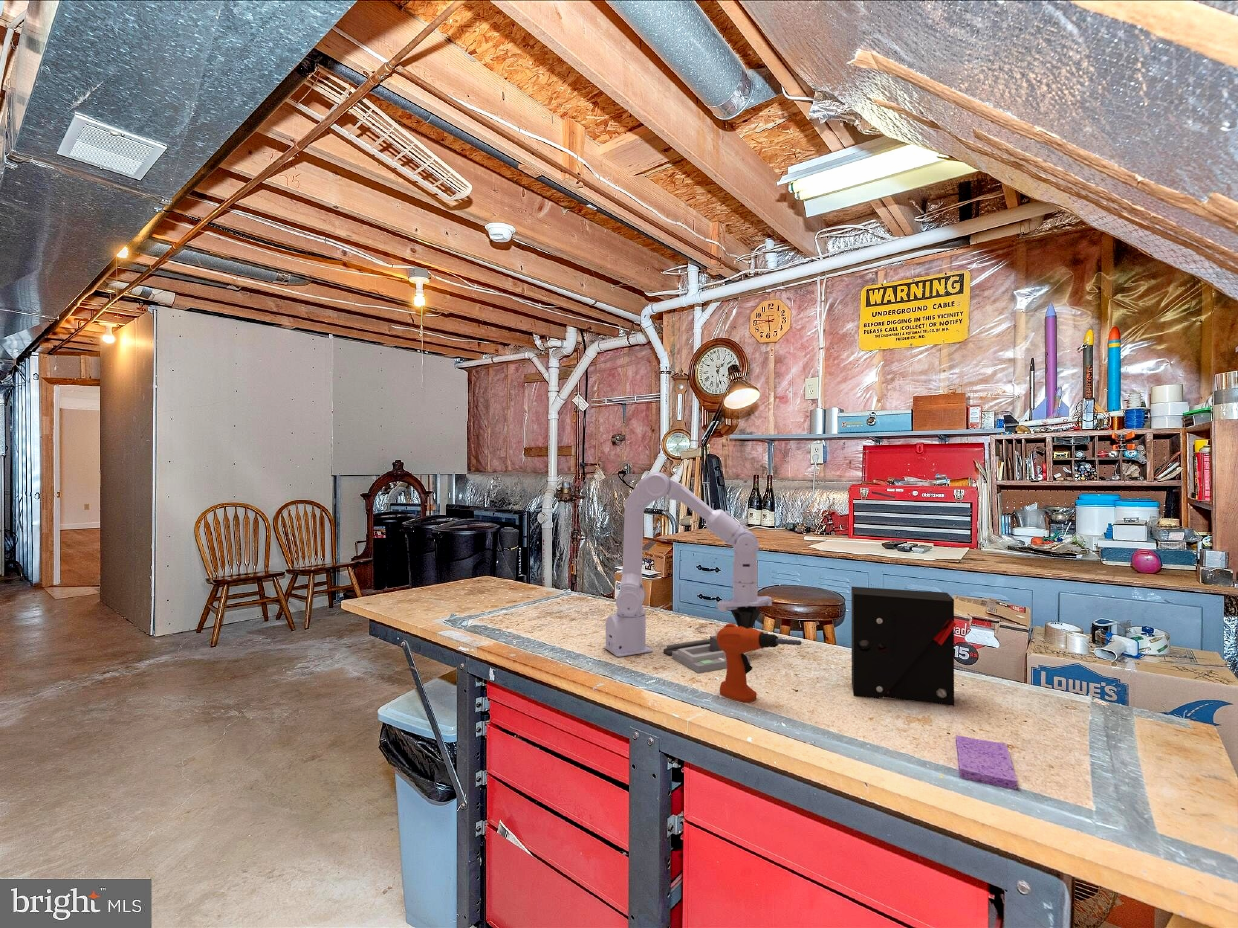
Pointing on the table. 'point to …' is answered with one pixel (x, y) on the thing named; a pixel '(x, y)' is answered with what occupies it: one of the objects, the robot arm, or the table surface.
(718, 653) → the breaker panel
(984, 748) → the sponges
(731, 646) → the toy drill
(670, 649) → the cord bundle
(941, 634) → the electrical component
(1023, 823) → the table surface
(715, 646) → the breaker slider
